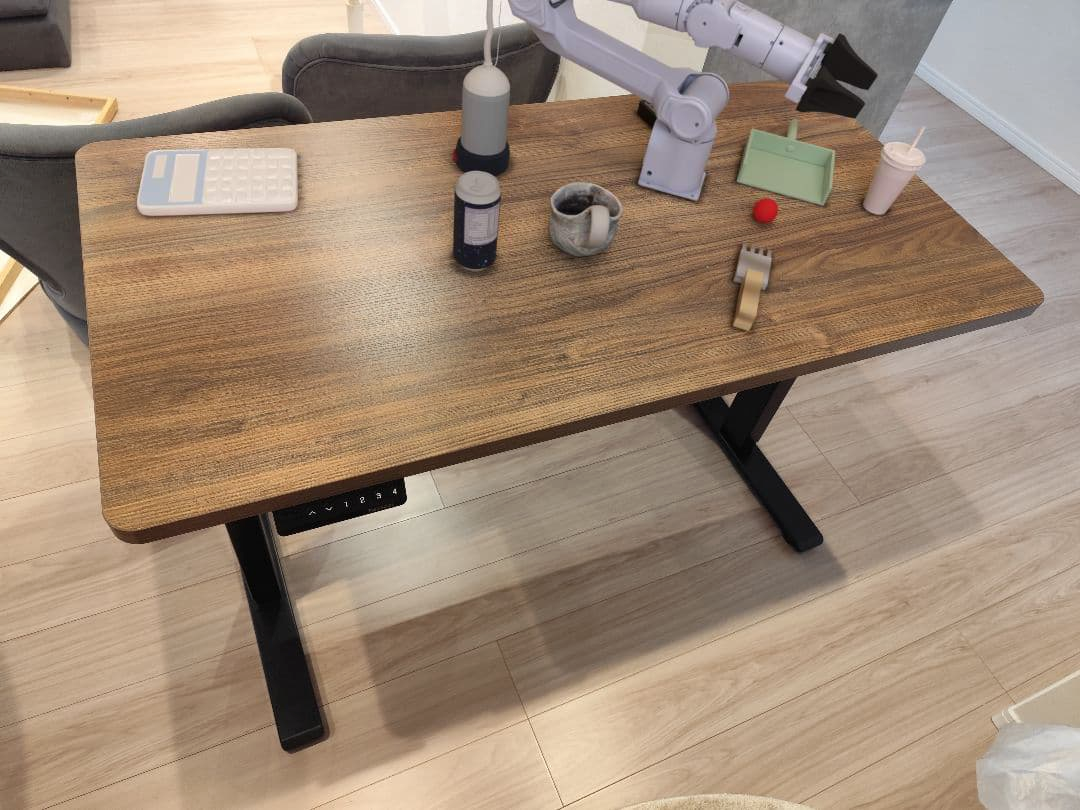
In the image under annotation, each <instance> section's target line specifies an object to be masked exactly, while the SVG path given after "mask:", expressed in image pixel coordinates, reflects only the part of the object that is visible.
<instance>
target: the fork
mask: <svg viewBox="0 0 1080 810" xmlns="http://www.w3.org/2000/svg"><path fill="white" fill-rule="evenodd" d="M747 248H748V243H747V242H743V243H742V245H741V247H740V252H739V254H738V258H737V262H736V267H735V272H734V276H733V282H734V283H738V284H740V288H739V293H738V297H737V302H736V306H735V313H734V317H733V321H732V327H734V328H736V329H741V330H743V331H746V332H750V330H751V328H752V326H753V324H754V322H755V320H756V318H757V315H758V308H759V303H760V296H761V290H762V291H765V290H766V289H767V286H768V285H769V284H768V283H769V279H770V272H771V267H772V260H773V257H772V253H773V250H772V249H767V251H766V253H765V255H764V251H765V250H764V249H765V248H764V247H761V246H760V247H758V250H757V253H756V245H754V244H751V245H750V247H749V250H747Z"/></svg>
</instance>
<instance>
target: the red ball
mask: <svg viewBox="0 0 1080 810" xmlns="http://www.w3.org/2000/svg"><path fill="white" fill-rule="evenodd" d="M752 214H753V217H754V219H755V220H756V221H757V222H759V223H761V224H769V223H771V222H773V221H774V220H775V219H776V218H777V216H778V214H779V206H778V204H777V202H776V201H775V200H774V199H772V198H769V197H764V198H761V199H759V200H758V201H757V202H756V203H754V206H753V209H752Z"/></svg>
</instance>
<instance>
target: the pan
mask: <svg viewBox="0 0 1080 810" xmlns="http://www.w3.org/2000/svg"><path fill="white" fill-rule="evenodd" d="M799 124H800V123H799V120H797V119H794V118H793V119H791V120H790V121H789V122H788V127H787V133H786V136H782V135H778V134H775V133H771V132H768V131H765V130H760V129H756V128H751V129H750V131H749V134H748V137H747V139H746V141H745V145H744V150H743V153H742V156H741V161H740V164H739V170H738V172H737V177H736V178H737V179H736V183H740V184H743V185H746V186H750V187H753V188H758V189H761V190H764V191H768V192H772V193H775V194H779V195H782V196H786V197H789V198H793V199H797V200H801V201H803V202H808V203H812V204H815V205H819V206H824V205H825V204H826V201H827V200H828V197H829V195H830V194H831V192H832V189H833V184H834V173H835V160H836V150H835V149H831V148H827V147H825V146H824V147H823V146H820V145H816V144H813V143H809V142H805V141H801V140H797V137H798V131H799Z"/></svg>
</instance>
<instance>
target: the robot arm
mask: <svg viewBox="0 0 1080 810" xmlns="http://www.w3.org/2000/svg"><path fill="white" fill-rule="evenodd" d="M607 1H608V2H612V3H617V4H620V5H624V6H628V7H631V8H632V10H633V11H634V13H635V15H636V18H638V20H640V21H643V22H644V21H645V22H648V23H651V24H654V25H656V26H657V25H658V26H660V27H662V28H663V27H664V28H667V29H669V30H673V31H677V32H679V33H687V35H688V36H689V37H691V39H692V41H693V42H694V46H695V47H698V48H702V49H707V48H711V47H717V48H719V49H721V50H723V51H725V52H727V53H729V54H730V55H732V56H734V57H736V58H738V59H740V60H742V61H743V62H746V63H747V64H750V65H751V66H753V67H755V68H757V69H759V70H761V71H763V72H765V73H767V74H769V75H770V76H772V77H774V78H776V79H778V80H779V81H782V82H784V83H786V84H788V85H789V87H788V88H787V91H786V92H785V94H784V96H783V97H784V98H786V99H788V100H789V101H792V102H793V103H795V104H797V106H796V107H795V111H797V112H799V113H825V114H830V115H835V116H841V117H844V118H849V119H857V117H858V116H859V114H860V112H861V111H862V110H863V108H864V107H865V105H866V102H865V101H864V100H863V99H862V98H861V97H860V96H859V95H857V94H855V93H854V92H852V91H851V90H849V89H848V88H846V87H845V86H844V85H842V84H841V83H840V82H842V83H845V84H847V85H850V86H853V87H855V88H858V89H861V90H865V91H870V88H871V87H872V85H873V84H874V83H875V81H876V80H877V78H878V76H879V74H878V73H877V72H876V71H875V70H874V69H873V68H872V67H871V66H870V65H869V64H868V63H867V62H866V61H865V60H863V59H862V58H861V57H860V56H859V54H858V53H856V51H855V50H854V49H853V47H852V46H851V44H850V42H849V41H848V38H847V37H846V35H844V34H842V33H840V32H839V33H838V34H837V35H836V37H835V39H834V38H833V37H831V36H829V35H827V34H825V33H823V32H820V34H819V35H818V37H817V39H816V40H815V39H813V38H812V37H809V36H808V35H805V34H803V33H802V32H800V31H797V30H796V29H794V28H792V27H790V26H788V25H785V24H784V23H782V22H780V21H778V20H776V19H774V18H773V17H771V16H769V15H767V14H765V13H763V12H760V11H759V10H758V9H755V8H752V7H750V6H749V5H747V4H745V3H742V2H741V1H739V0H607ZM507 2H508V5H509V9H510V11H511V14H512V16H513V17H515V18H517V19H520V20H521V21H523V22H525V23H526V25H527V26H528V27H529V28H530V30H531V31H532V32H533V33H534V34H535V36H537V38H538V39H539V41H540V42H541V43H542V44H543V46H544V47H545V48H546V49H548V50H550V51H551V52H552V53H555V54H556V55H558V56H561V57H562V58H565V59H566V60H568V61H570V62H572V63H573V64H576V65H577V66H579V67H581V68H583V69H584V70H587V71H588V72H590V73H592V74H594V75H597V76H598V77H600V78H602V79H603V80H606V81H607V82H610V83H611V84H614V85H615V86H618V87H619V88H621V89H623V90H625V91H627V92H629V93H630V94H631V95H634V96H636V97H638V98H640V99H641V100H646V101H647V102H649V103H651V104H652V105H653V107H654V110H655V113H656V117H657V119H656V121H655V124H654V127H653V129H651V133H650V137H649V140H648V144H647V147H646V151H645V153H644V155H643V158H642V161H641V165H642V167H641V171H640V174H639V175H640V176H639V179H638V181H637V184H638V185H639V186H641V187H645V188H649V189H651V190H655V191H659V192H662V193H667V194H670V195H673V196H676V197H681V198H684V199H688V200H692V201H695V202H696V201H699V198H700V195H701V191H702V189H703V185H704V182H705V178H706V175H707V173H706V167H707V164H708V162H709V159H710V155H711V152H712V149H713V146H714V143H715V140H716V137H717V134H718V128H717V118H718V116H719V115H720V113H722V111H723V110H724V109H726V106H727V104H728V102H729V99H730V89H729V86H728V84H727V82H726V80H725V79H724V78H723V77H722V76H720V75H719V74H717V73H715V72H710V71H706V72H705V71H703V72H702V71H697V70H695V69H693V68H691V67H672V66H669V65H667V64H666V63H664V62H662V61H660V60H658V59H656V58H654V57H652V56H650V55H648V54H646V53H645V52H643V51H640V49H637V48H635V47H633V46H631V45H629V44H628V43H625V42H624V41H621V40H620V39H618V38H616V37H614V36H612V35H610V34H608V33H606V32H605V31H602V30H601V29H599V28H596V27H594V26H592V25H591V24H589V23H587V22H585V21H583V20H581V19H580V18H578V16H577V13H576V9H575V6H574V0H507ZM819 66H820V67H819ZM817 70H818V71H817ZM816 72H817V73H816ZM814 75H815V77H814Z"/></svg>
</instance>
